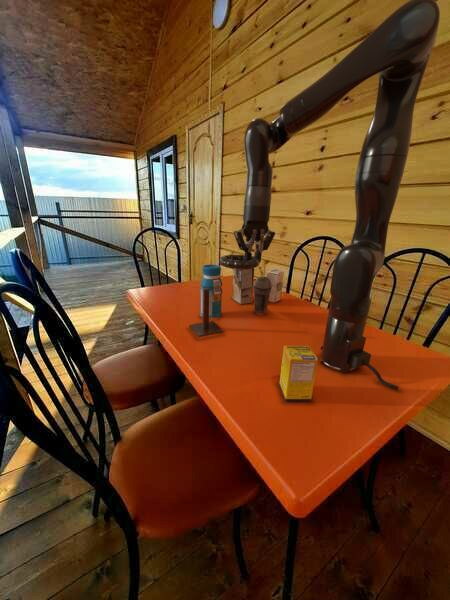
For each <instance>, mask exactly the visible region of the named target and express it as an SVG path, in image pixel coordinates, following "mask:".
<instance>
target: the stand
mask: <svg viewBox="0 0 450 600" xmlns="http://www.w3.org/2000/svg"><path fill="white" fill-rule="evenodd" d="M188 327H189V328H190V329H191V330H192V332H193V333H194V334H195V335H196V336H197V337H198V338H201V337H206V336H210V335H215V334H221V333H224V330H223V328H220V327H219V326H218V324H217V323H215V322H214V321H213V320H211V321H210V318H209V288H203V316H202V322H197V323H193V324H188Z"/></svg>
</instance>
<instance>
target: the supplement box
mask: <svg viewBox="0 0 450 600" xmlns="http://www.w3.org/2000/svg"><path fill="white" fill-rule="evenodd" d="M318 361H319V359H318V357H317V355H316V354H315V353H314V351H313V350H312V349H311V347H310V346H309V345H283V351H282V359H281V366H280V375H279V385H278V387H279V388H280V391H281V394H282V396H283V399H284V402H312V397H313V391H314V386H315V379H316V373H317V367H318Z"/></svg>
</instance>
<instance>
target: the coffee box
mask: <svg viewBox="0 0 450 600" xmlns="http://www.w3.org/2000/svg"><path fill="white" fill-rule="evenodd" d="M232 269H233V268H232ZM254 278H255V268H252V269H233V271H232V295H231V297H232V298H231V299H232V300H234V301H235V302H237V303H238V304H240V305H246V304H252V303H253V296H254V287H253V286H254V280H255V279H254Z"/></svg>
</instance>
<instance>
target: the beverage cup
mask: <svg viewBox="0 0 450 600" xmlns="http://www.w3.org/2000/svg"><path fill="white" fill-rule="evenodd" d="M265 274H266V266H265V265H264V266H263V271H262V276H258V277H257V278H256V279H255V281H254V282H253V297H254V299H253V300H254V301H253V302H254V304H253V306H254V307H253V308H254V312H255V313H257V314H265V313H267V311H268V305H269V301H268V300H269V295H270V291H271V288H272V285H271V281H270V280H269V279H268V278H267V276H265Z"/></svg>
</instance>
